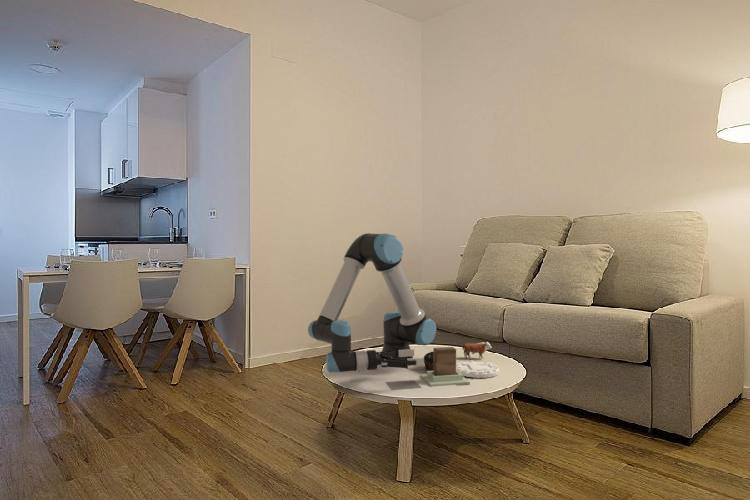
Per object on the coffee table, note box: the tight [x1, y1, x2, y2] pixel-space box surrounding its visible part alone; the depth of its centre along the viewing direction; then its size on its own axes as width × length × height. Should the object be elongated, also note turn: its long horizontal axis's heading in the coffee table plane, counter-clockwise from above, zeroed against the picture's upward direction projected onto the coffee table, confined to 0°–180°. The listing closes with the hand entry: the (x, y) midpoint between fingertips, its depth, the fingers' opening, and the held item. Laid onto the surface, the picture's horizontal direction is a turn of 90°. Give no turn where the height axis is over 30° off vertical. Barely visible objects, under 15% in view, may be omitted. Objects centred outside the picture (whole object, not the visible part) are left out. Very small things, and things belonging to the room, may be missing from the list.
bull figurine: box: [462, 341, 492, 360], centre depth 243 cm, size 4×13×8 cm, turn 81°
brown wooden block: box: [432, 346, 457, 376], centre depth 209 cm, size 4×8×12 cm, turn 102°
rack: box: [420, 370, 471, 387], centre depth 209 cm, size 14×16×3 cm
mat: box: [385, 379, 422, 391], centre depth 203 cm, size 10×12×1 cm
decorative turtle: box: [423, 351, 433, 371], centre depth 225 cm, size 10×15×8 cm, turn 23°
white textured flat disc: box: [456, 359, 500, 379], centre depth 221 cm, size 20×20×3 cm
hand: (418, 356), depth 206 cm, fingers open, 13 cm apart
